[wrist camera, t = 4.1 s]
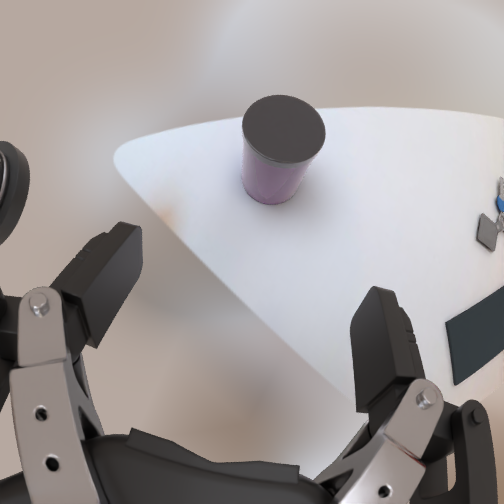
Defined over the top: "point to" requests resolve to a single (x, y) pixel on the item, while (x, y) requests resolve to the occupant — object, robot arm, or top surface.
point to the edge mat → (476, 336)
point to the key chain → (492, 223)
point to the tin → (279, 146)
